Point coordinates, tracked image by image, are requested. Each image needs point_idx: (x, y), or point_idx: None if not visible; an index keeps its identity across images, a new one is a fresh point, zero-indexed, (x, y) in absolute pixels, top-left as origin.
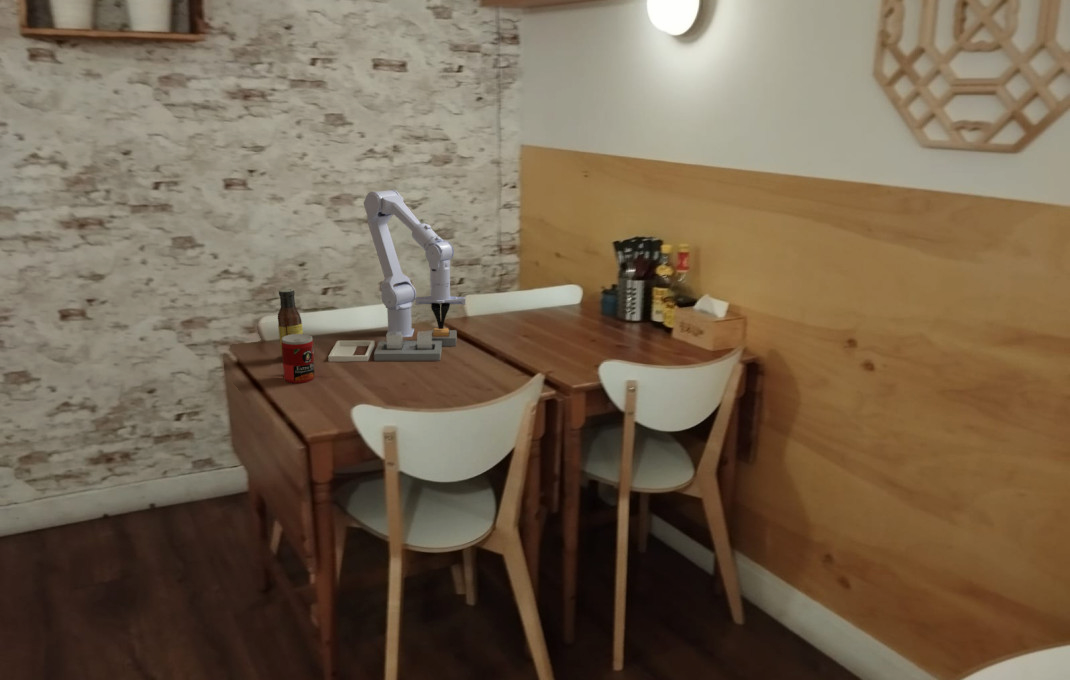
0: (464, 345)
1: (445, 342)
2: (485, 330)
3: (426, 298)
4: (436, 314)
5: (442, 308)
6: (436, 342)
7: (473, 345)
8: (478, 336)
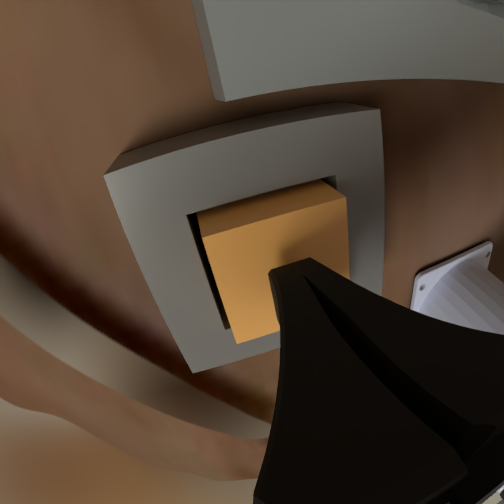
0: (90, 241)
1: (197, 136)
2: (130, 446)
3: None
4: (431, 335)
5: (414, 465)
6: (260, 32)
7: (42, 258)
8: (109, 395)
